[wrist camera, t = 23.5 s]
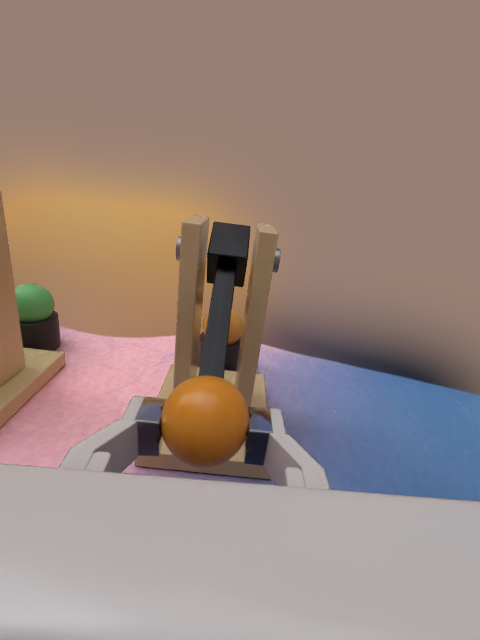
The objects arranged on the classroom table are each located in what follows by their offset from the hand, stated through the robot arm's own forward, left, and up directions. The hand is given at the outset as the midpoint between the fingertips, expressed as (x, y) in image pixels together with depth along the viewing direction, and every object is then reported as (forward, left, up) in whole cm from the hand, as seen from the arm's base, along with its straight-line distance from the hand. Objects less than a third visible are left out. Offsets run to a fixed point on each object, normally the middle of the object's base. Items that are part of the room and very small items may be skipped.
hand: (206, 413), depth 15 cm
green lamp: (-17, +15, -6) cm, 24 cm away
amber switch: (0, +4, +1) cm, 4 cm away
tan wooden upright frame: (0, +8, -6) cm, 10 cm away
